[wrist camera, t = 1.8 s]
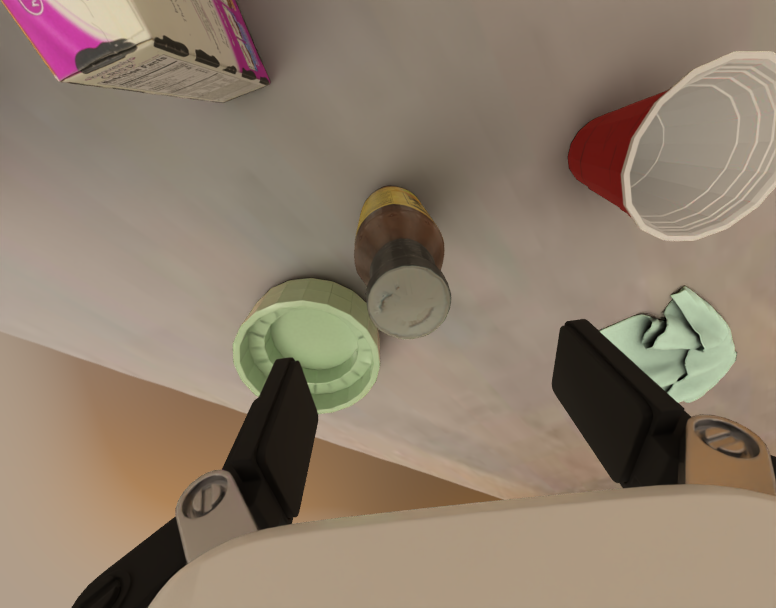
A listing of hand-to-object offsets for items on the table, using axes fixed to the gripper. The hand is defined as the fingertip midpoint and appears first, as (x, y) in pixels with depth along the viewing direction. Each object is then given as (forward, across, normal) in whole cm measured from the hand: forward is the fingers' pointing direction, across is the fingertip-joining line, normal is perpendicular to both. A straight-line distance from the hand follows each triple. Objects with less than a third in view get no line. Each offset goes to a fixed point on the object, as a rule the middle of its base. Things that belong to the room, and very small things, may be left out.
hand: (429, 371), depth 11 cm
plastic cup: (+24, -20, -3) cm, 31 cm away
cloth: (+24, -33, +24) cm, 48 cm away
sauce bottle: (+24, +1, 0) cm, 24 cm away
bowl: (+24, +12, +13) cm, 29 cm away
